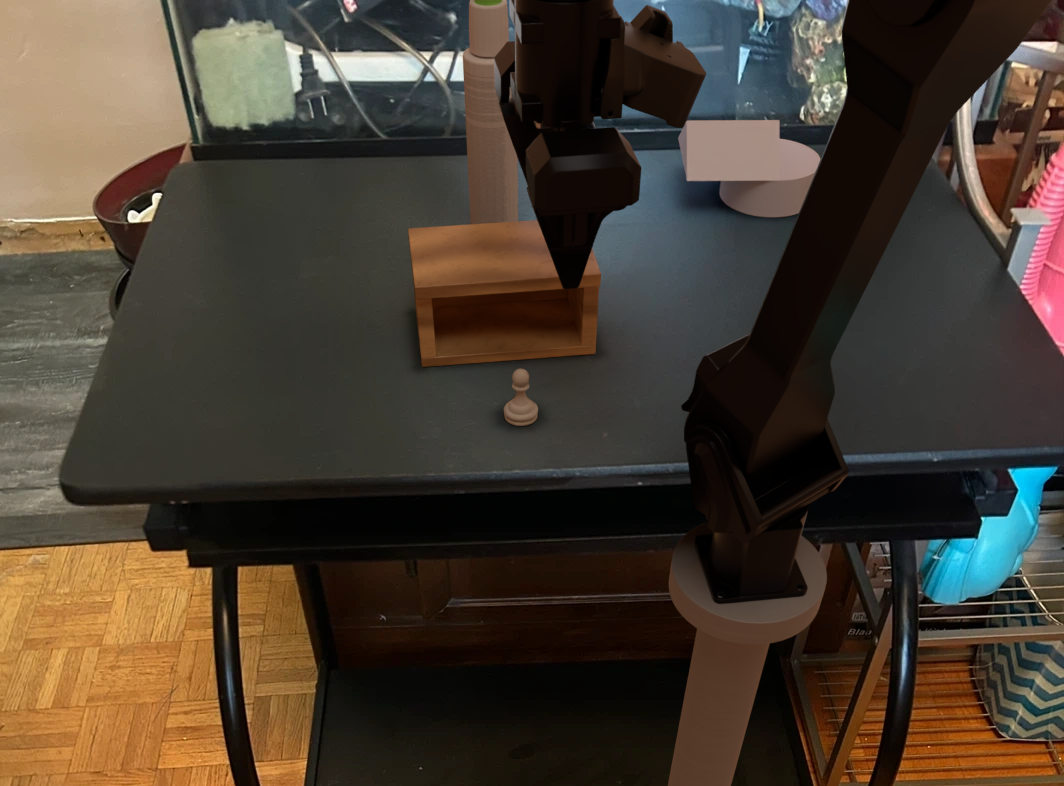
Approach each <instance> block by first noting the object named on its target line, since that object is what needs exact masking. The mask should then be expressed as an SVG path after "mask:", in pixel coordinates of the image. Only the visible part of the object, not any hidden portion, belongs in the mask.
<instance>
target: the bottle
mask: <svg viewBox="0 0 1064 786" xmlns="http://www.w3.org/2000/svg"><path fill="white" fill-rule="evenodd" d="M509 32H510V30H509V12H508V1H507V0H469V2H468V38H469V41H468V42H469V47H468V48H466V49H465V50H464V51H463V52H462V72H463V73H462V74H463V94H464V112H465V113H464V114H465V116H464V117H465V136H466V154H467V155H466V157H467V158H466V159H467V176H468V180H467V181H468V199H469V218H470V219H469V221H470V224H484V223H500V222H515V221H519V175H518V174H519V170H518V167H519V166H518V165H519V164H518V163H519V160H518V158H517V155H516V152H515V149H514V147H513V144H512V141H511V138H510V136H509V133H508V130H507V127H506V124H505V122H504V119H503V116H502V113H501V110H500V107H499V99H498V96H497V93H496V90H495V76H494V57H495V56H496V55H497V54H498V52H499V51H500V50H501V49H502V47H503V46H504V45H505V44H506V42H509V41H510V35H509V34H510V33H509ZM509 98H511V87H510V96H509Z"/></svg>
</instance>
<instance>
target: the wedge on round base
mask: <svg viewBox="0 0 1064 786" xmlns="http://www.w3.org/2000/svg"><path fill="white" fill-rule="evenodd" d="M780 133H781V132H780V119H765V120H764V119H739V120H738V119H736V120H735V119H734V120H733V119H727V120H726V119H724V120H723V119H720V120H719V119H717V120H716V119H714V120H713V119H712V120H710V119H709V120H708V119H707V120H706V119H705V120H703V119H702V120H701V119H699V120H697V119H696V120H687V121H686V123H685V125H684V127H683V128H681V132H680V133H679V135H678V137H677V140H678V145H679V149H680V154H681V158H682V159H681V160H682V164H683V168H684V173H685V179H686V182H720V185H719V197H720V199H721V201H722V202H723V203H724V204H725V205H726V206H728V208H729V207H730V208H731V209H733V210H735V211H737V212H739V213H741V214H745V215H748V216H749V215H750V216H753V217H760V218H784V217H790V216H794V215H798V214H799V212H800V209H801V207H802V204H803V202H804V199H805V197H806V194H807V192H808V189H809V187H810V184H811V182H812V179H813V177H814V174H815V172H816V169H817V167H818V164H819V162H820V159H821V156H820V155H819V154H818V153H817V152H816V151H815V150H814V149H813V148H811V147H810V146H808V145H805V144H803V143H800V142H798V141H793V140H790V139H784V138H780V136H781V135H780Z"/></svg>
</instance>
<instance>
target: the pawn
mask: <svg viewBox="0 0 1064 786" xmlns="http://www.w3.org/2000/svg"><path fill="white" fill-rule="evenodd" d="M511 375H512V377H511V379H512V385H511V388H512V389H513V390H514V391H515V396H514V397H513V398H512V399H510V400H509V401H507V402H506V404H505V405H504V407H503V416H504V419H505V421H506V423H508V424H510V425H512V426H515V427H526V426H530V425H532V424H533V423H535V422H536V421H537V420H538V415H539V414H538V413H539V407H538V405H537V403H536V402H535V401H533V400H531V399H530V398H529V397H528V396H527V394H526V391H528V390H529V388H530V383H529V381H530V374H529V372H528V371H527V370H526V369H524V368H517V369H515V370H514V371H513V373H512V374H511Z"/></svg>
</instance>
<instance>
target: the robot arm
mask: <svg viewBox="0 0 1064 786" xmlns="http://www.w3.org/2000/svg"><path fill="white" fill-rule="evenodd" d="M1052 1H1053V0H847V3H846V6H845V11H844V15H843V18H842V23H841V42H842V51H843V60H844V61H843V62H844V69H845V80H846V92H845V95H844V99H843V103H842V105H841V107H840V110H839V113H838V115H837V117H836V120H835V123H834V125H833V127H832V130H831V132H830V134H829V138H828V140H827V142H826V145H825V147H824V149H823V152H822V155H821V156H820V162H819V164H818V167H817V169H816V172H815V174H814V177H813V179H812V182H811V184H810V187H809V189H808V192H807V194H806V197H805V199H804V202H803V204H802V207H801V209H800V212H799V213H798V214H797V217H796V219H795V222H794V224H793V226H792V229H791V232H790V234H789V237H788V239H787V241H786V244H785V247H784V249H783V252H782V254H781V256H780V259H779V261H778V263H777V266H776V269H775V271H774V273H773V277H772V279H771V281H770V284H769V285H768V289H767V291H766V294H765V296H764V299H763V301H762V303H761V306H760V309H759V311H758V314H757V316H756V318H755V320H754V323H753V326H752V328H751V331H750V333H748V334H745V335H744V336H742V337H740V338H738V339H736V340H734V341H732V342H730V343H728V344H726V345H724V346H721V347H720V348H718V349H716V350H714V351H711V352H710V353H707V354H705V355H704V356H703V357H702V358H701V360H700V362H699V364H698V366H697V368H696V371H695V375H694V380H693V381H694V382H693V386H692V389H691V392H690V394H689V396H688V398H687V399H686V400H685V401H684V402H683V403H682V404H680V405H681V406H680V408H681V410H682V411H683V412H687V413H688V414H687V416H686V418H685V421H684V426H683V441H684V443H685V451H686V457H687V465H688V473H689V481H690V486H691V495H692V502H693V506H694V508H695V509H696V510H697V511H699V512H700V513H702V514H703V515H704V516H705V519H706V520H707V522H708V528H709V529H710V530H712V531H713V534H706V535H698V536H696V537H695V540H694V546H695V549H696V552H697V555H698V558H699V561H700V564H701V567H702V570H703V573H704V576H705V578H706V581H707V584H708V587H709V590H710V593H711V596H712V599H713V601H714V602H715V603H717V604H729V603H740V602H750V601H761V600H771V599H781V598H792V597H802V596H804V595H806V593H807V589H808V587H807V584H806V582H805V580H804V577H803V575H802V573H801V570H800V568H799V565H798V563H797V561H796V558H795V556H796V552H797V549H798V545H799V541H800V538H801V536H802V535H803V531H804V526H805V523H806V519H807V516H808V512H809V507H810V504H811V503H813V502H815V501H816V500H818V499H820V498H821V497H823V496H824V495H826V494H830V493H832V492H833V491H835V490H837V488H838V487H839V486H840V485H841V484H842V482H843V481H844V480H845V479H846V478H847V476H848V475H849V473H850V471H849V467H848V465H847V462H846V460H845V457H844V455H843V452H842V450H841V448H840V445H839V443H838V440H837V438H836V435H835V433H834V430H833V429H832V426H831V423H830V421H829V419H828V417H829V413H830V410H831V408H832V404H833V402H834V398H835V395H836V394H835V393H836V387H835V386H836V385H835V379H834V374H833V369H832V364H831V362H832V358H833V356H834V353H835V351H836V349H837V347H838V346H839V343H840V341H841V339H842V337H843V335H844V333H845V331H846V329H847V327H848V325H849V323H850V321H851V319H852V317H853V316H854V313H855V311H856V309H857V307H858V305H859V303H860V302H861V299H862V297H863V295H864V293H865V292H866V289H867V288H868V285H869V283H870V281H871V279H872V277H873V275H874V273H875V271H876V269H877V267H878V266H879V263H880V261H881V260H882V257H883V256H884V254H885V251H886V249H887V247H888V245H889V243H890V241H891V240H892V238H893V235H894V233H895V232H896V230H897V227H898V225H900V224H899V223H900V221H901V220H902V218H903V215H904V214H905V212H906V210H907V208H908V205H909V204H910V202H911V200H912V198H913V196H914V194H915V192H916V190H917V188H918V186H919V185H920V182H921V180H922V178H923V176H924V175H925V172H926V170H927V168H928V166H929V164H930V162H931V160H932V158H933V156H934V154H935V152H936V150H937V148H938V146H939V144H940V143H941V140H942V138H943V136H944V134H945V132H946V130H947V128H948V126H949V124H950V123H951V121H952V120H953V119H954V117H955V116H956V114H957V113H958V112H959V111H960V109H961V108H963V106H964V105H966V103H968V101H969V100H970V99H971V98H972V97H973V96H974V95H975V94H976V93H977V92H978V90H980V88H981V87H983V85H984V84H985V83H986V82H987V81H988V80H989V79H990V78H991V77H992V76H993V75H994V74H995V73H996V72H997V70H999V69H1000V68H1001V66H1002V65H1003V64H1004V63H1005V62H1006V61H1007V60H1008V59H1009V58H1010V57H1011V56H1012V55H1013V54H1014V52H1015V51H1016V50H1017V49H1018V48H1019V47H1020V45H1021V44H1022V42H1023V41H1024V40H1025V38H1026V37H1027V35H1028V34H1029V33H1030V32H1031V30H1032V29H1033V27H1034V25H1035V24H1036V23H1037V22H1038V20H1039V19H1040V18H1041V16H1042V15H1043V14H1044V12H1045V11H1046V9H1047V8H1048V6H1049V5H1050V4H1051V2H1052ZM508 2H509V6H508V7H509V17H510V20H511V21H512V22H511V23H512V25H513V27H514V40H511V41H510V40H509V42H506V44H505V45H504V46H503V47H502V49H501V50H500V51H499V52H498V54H497V55H496V56H495V57H494V76H495V90H496V93H497V96H498V99H499V107H500V110H501V113H502V116H503V119H504V122H505V124H506V127H507V130H508V133H509V136H510V138H511V141H512V144H513V147H514V149H515V152H516V155H517V158H518V163H519V165H520V169H521V171H522V174H523V177H524V179H525V183H526V185H527V187H526V192H527V195H528V198H529V201H530V205H531V207H532V211H533V212H534V215H535V218H536V220H537V221H538V223H539V226H540V229H541V231H542V234H543V237H544V239H545V242H546V245H547V247H548V250H549V252H550V255H551V258H552V260H553V263H554V266H555V269H556V271H557V274H558V277H559V279H560V282H561V285H562V287H563V288H564V289H574V288H578V287H579V286H580V283H581V280H582V277H583V274H584V271H585V268H586V265H587V262H588V259H589V256H590V253H591V250H592V248H593V247H594V244H595V242H596V238H597V235H598V232H599V230H600V227H601V225H602V223H603V221H604V220H605V219H606V217H608V216H609V215H611V214H613V212H618V211H623V210H624V209H626V208H627V207H628V206H629V207H630V206H633V205H634V204H636V203H637V202H639V201H640V190H641V179H642V166H641V163H640V162H639V160H638V158H637V156H636V154H635V151H634V150H633V148H632V145H631V143H630V142H629V141H628V140H627V139H626V137H625V136H624V135H623V134H622V133H621V132H620V131H619V130H618V128H617V127H615V126H613V127H612V126H611V127H610V126H609V127H600V128H598V127H597V126H596V125H595V118H599V117H600V119H601V120H617V119H622V118H623V106H625V107H627V108H629V109H632V110H634V111H638V112H641V113H643V114H646V115H649V116H652V117H655V118H658V119H660V120H663V121H665V123H666V125H667V126H668V127H669V126H670V127H672V128H675V129H683V127H684V125H685V123H686V121H688V118H689V116H690V114H691V112H692V109H693V107H694V104H695V102H696V99H697V97H698V95H699V92H700V90H701V88H702V86H703V83H704V81H705V78H706V76H707V72H706V70H705V69H704V67H703V65H702V64H701V63H700V61H699V60H698V58H697V57H696V55H695V53H693V51H692V50H690V49H689V48H687V47H686V46H685V45H684V43H683V42H682V41H680V40H676V41H675V42H674V24H673V21H672V19H671V18H670V16H669V15H668V13H667V12H666V11H665V10H662V9H659V8H657V7H654V6H652V5H649V4H646V5H645V6H644V7H643V8H642V9H641V10H640V11H639V12H638V13H637V14H636V16H634V18H633V19H632V20H631V21H630V22H629V21H625V20H624V19H623V17H622V15H620V14H619V12H618V10H617V9H616V6H615V5H614V4H615V3H614V2H615V1H614V0H509V1H508ZM510 87H511V98H509V96H510ZM799 589H801V590H799ZM718 596H721V597H718Z"/></svg>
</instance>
